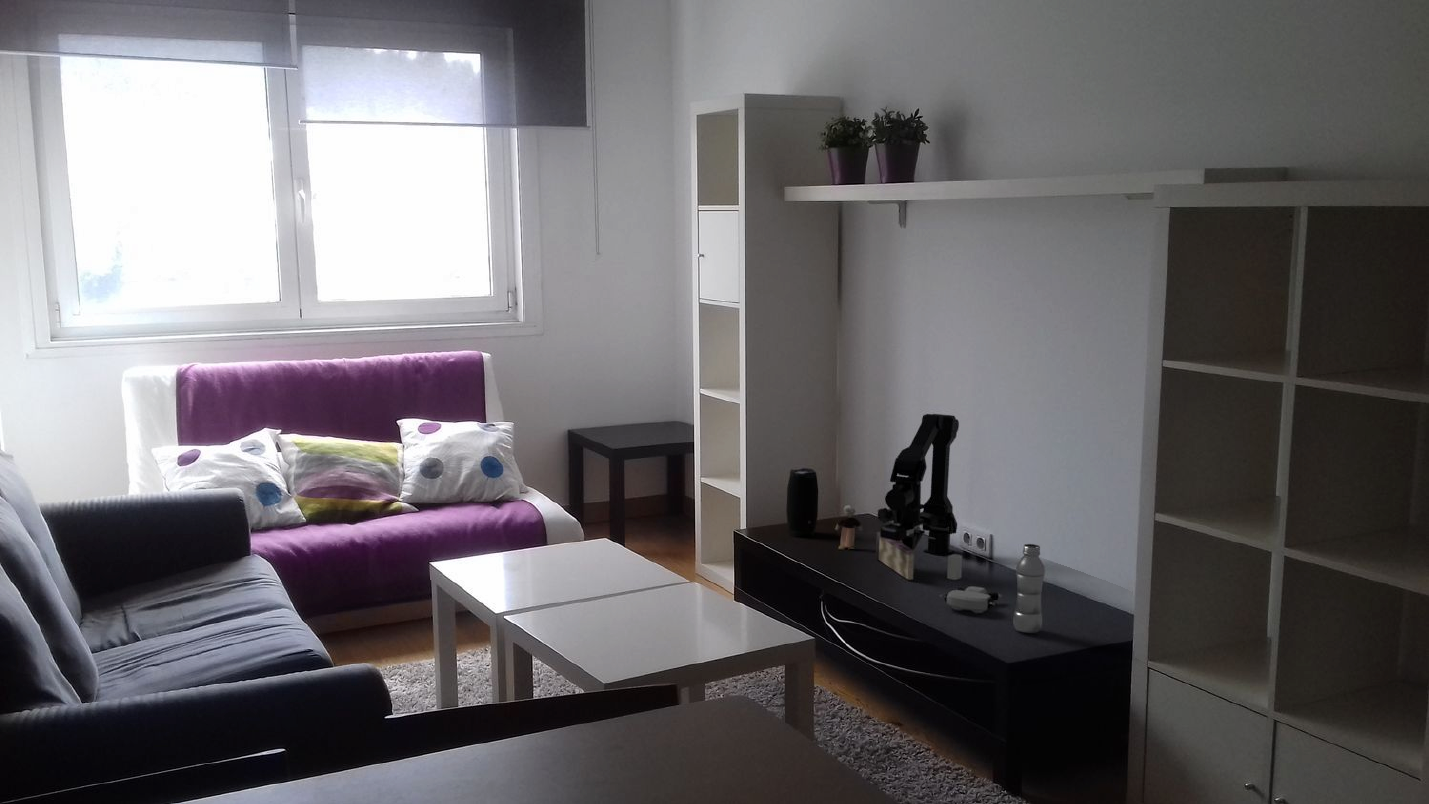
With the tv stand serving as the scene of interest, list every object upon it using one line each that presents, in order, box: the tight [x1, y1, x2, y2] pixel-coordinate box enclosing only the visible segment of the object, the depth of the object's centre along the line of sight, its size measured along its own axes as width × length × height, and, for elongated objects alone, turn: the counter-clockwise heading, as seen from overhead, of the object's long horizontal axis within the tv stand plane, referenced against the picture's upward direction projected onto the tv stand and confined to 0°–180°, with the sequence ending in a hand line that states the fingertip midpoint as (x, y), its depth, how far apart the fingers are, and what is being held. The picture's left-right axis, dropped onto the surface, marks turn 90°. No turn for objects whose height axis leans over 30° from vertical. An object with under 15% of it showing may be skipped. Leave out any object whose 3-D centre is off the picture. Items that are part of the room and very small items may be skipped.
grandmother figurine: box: [834, 505, 863, 550], centre depth 346 cm, size 8×4×13 cm, turn 92°
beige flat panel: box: [875, 531, 916, 580], centre depth 324 cm, size 22×2×8 cm, turn 14°
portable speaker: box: [785, 467, 819, 538], centre depth 361 cm, size 9×9×20 cm
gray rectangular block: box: [946, 553, 963, 581], centre depth 317 cm, size 3×2×6 cm
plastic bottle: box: [1012, 543, 1046, 634], centre depth 273 cm, size 6×7×20 cm
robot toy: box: [939, 586, 1003, 614], centre depth 292 cm, size 12×4×15 cm
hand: (908, 556), depth 324 cm, fingers closed
